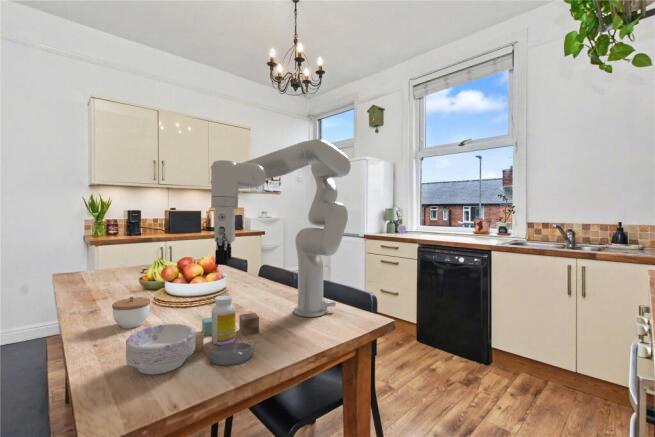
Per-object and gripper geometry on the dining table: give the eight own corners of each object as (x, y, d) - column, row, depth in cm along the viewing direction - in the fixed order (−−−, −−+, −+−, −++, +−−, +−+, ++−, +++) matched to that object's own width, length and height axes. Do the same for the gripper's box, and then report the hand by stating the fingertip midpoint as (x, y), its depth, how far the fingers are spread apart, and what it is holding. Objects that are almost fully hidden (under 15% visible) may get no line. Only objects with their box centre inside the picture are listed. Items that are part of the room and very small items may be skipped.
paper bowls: (182, 380, 72) (182, 346, 72) (112, 383, 71) (111, 347, 70) (203, 350, 87) (203, 321, 87) (145, 352, 86) (145, 323, 86)
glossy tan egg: (204, 345, 90) (204, 331, 90) (202, 351, 86) (202, 337, 86) (189, 346, 89) (189, 332, 89) (186, 353, 85) (186, 338, 85)
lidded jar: (145, 317, 113) (145, 290, 113) (154, 325, 105) (154, 297, 105) (109, 324, 105) (108, 296, 105) (116, 334, 98) (116, 303, 97)
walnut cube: (254, 327, 104) (254, 312, 104) (258, 333, 99) (259, 317, 99) (239, 330, 102) (239, 314, 101) (242, 336, 97) (242, 319, 97)
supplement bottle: (240, 339, 94) (240, 296, 94) (222, 348, 89) (222, 302, 88) (225, 334, 98) (225, 293, 97) (206, 342, 92) (206, 298, 92)
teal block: (221, 327, 104) (221, 315, 104) (224, 331, 101) (224, 319, 100) (202, 331, 101) (202, 318, 101) (204, 335, 97) (204, 322, 97)
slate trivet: (253, 345, 91) (253, 340, 91) (252, 363, 80) (252, 359, 80) (212, 348, 88) (212, 344, 88) (206, 368, 78) (206, 363, 78)
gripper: (235, 203, 85) (234, 266, 86) (240, 204, 102) (239, 257, 103) (205, 202, 84) (204, 267, 84) (215, 203, 101) (214, 257, 101)
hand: (223, 261), depth 93 cm, fingers open, 9 cm apart
